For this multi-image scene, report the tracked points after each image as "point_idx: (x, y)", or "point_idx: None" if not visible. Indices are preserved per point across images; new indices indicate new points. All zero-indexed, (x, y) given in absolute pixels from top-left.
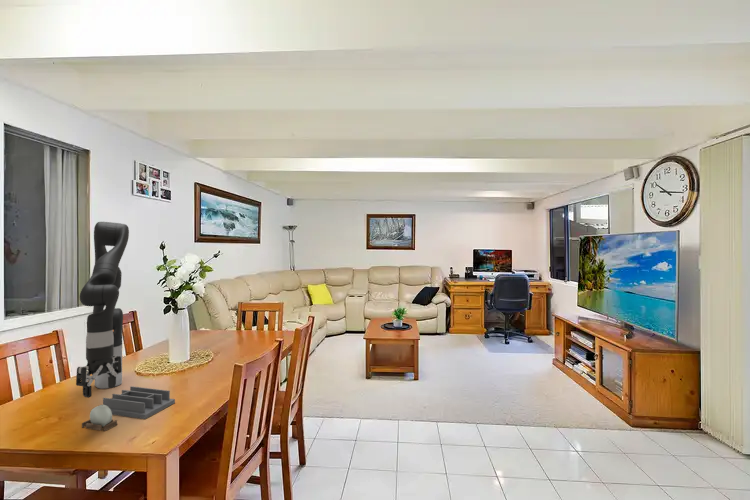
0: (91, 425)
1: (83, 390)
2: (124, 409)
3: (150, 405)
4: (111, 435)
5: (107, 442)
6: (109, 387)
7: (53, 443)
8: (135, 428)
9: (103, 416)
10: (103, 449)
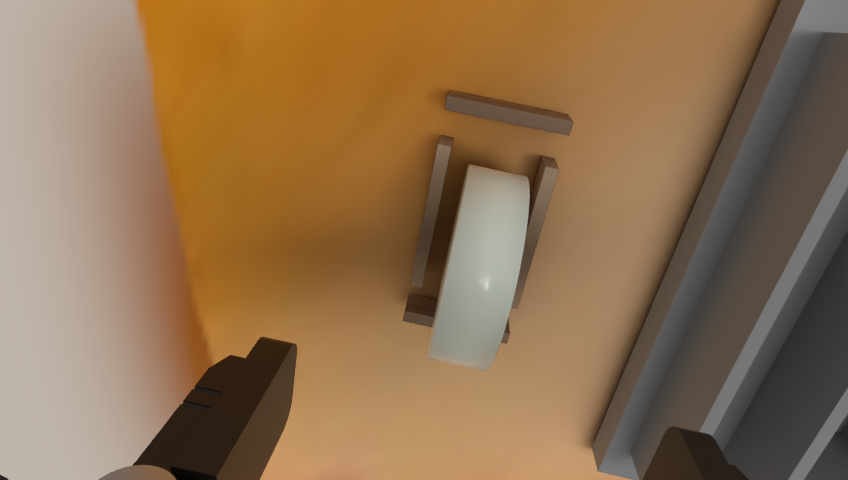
0: (427, 199)
1: (171, 427)
2: (707, 299)
3: None
4: (367, 368)
5: None
6: (664, 439)
7: (206, 65)
8: (465, 446)
9: (435, 319)
10: None
